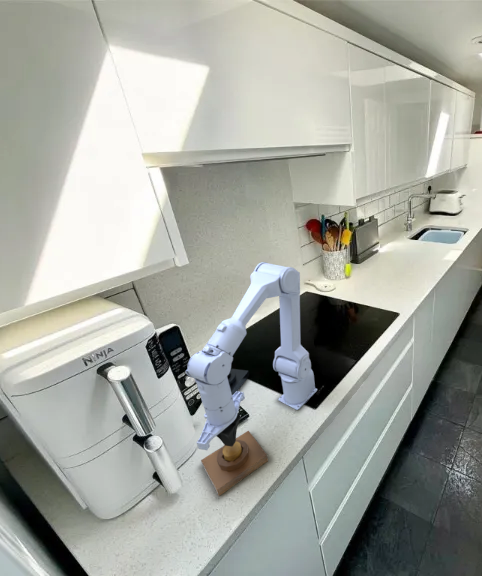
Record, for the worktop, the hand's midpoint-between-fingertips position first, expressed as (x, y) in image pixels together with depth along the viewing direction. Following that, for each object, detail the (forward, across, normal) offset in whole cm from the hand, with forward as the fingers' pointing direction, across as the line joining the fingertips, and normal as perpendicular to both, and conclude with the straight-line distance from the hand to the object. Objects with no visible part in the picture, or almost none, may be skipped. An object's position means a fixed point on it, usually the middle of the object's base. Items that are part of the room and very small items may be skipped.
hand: (230, 443), depth 72 cm
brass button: (+3, 0, 0) cm, 3 cm away
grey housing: (+7, -24, -18) cm, 31 cm away
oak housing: (+7, 0, 0) cm, 7 cm away
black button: (+3, -24, -18) cm, 30 cm away
